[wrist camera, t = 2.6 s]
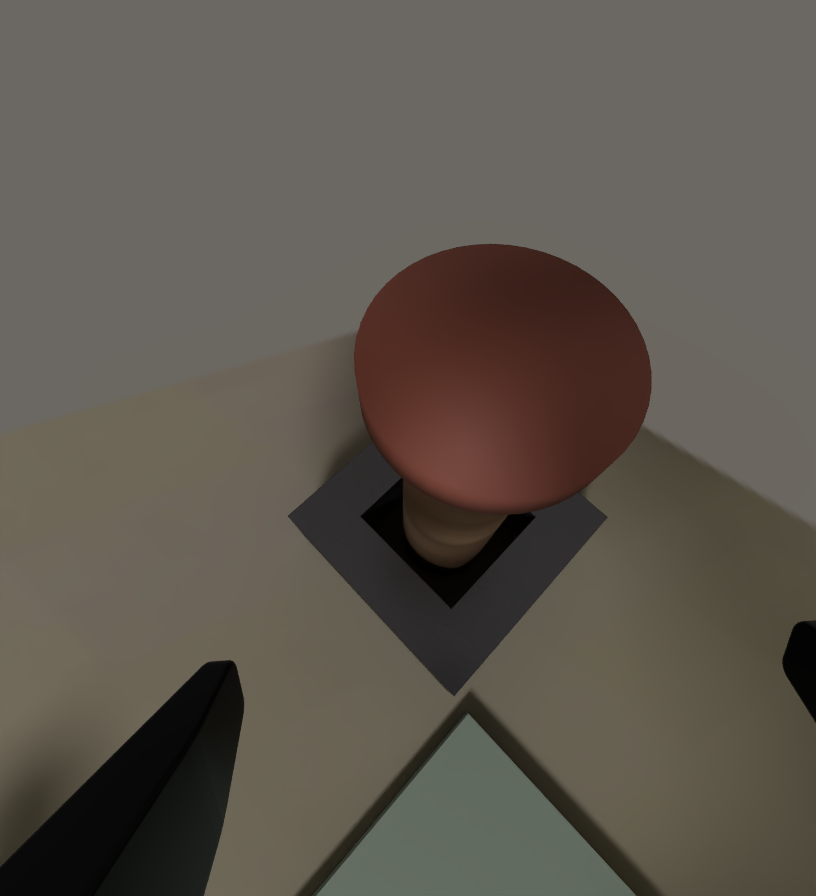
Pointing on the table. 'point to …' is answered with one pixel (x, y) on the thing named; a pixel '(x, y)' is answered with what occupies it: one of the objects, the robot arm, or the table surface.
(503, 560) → the eye block
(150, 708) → the table surface
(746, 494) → the table surface
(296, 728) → the table surface
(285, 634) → the table surface
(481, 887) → the green pad
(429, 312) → the walnut peg
